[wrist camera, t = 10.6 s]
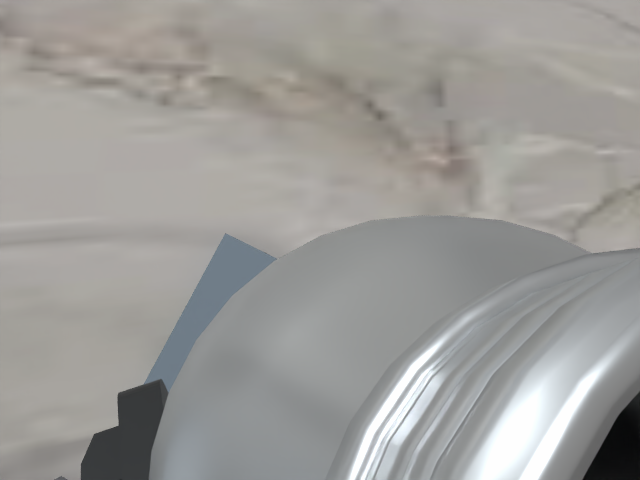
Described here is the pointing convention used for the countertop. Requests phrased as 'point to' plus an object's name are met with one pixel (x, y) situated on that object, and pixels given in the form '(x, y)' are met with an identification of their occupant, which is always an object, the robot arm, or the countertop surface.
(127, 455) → the robot arm
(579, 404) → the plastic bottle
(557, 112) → the countertop surface
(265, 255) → the slate mat
